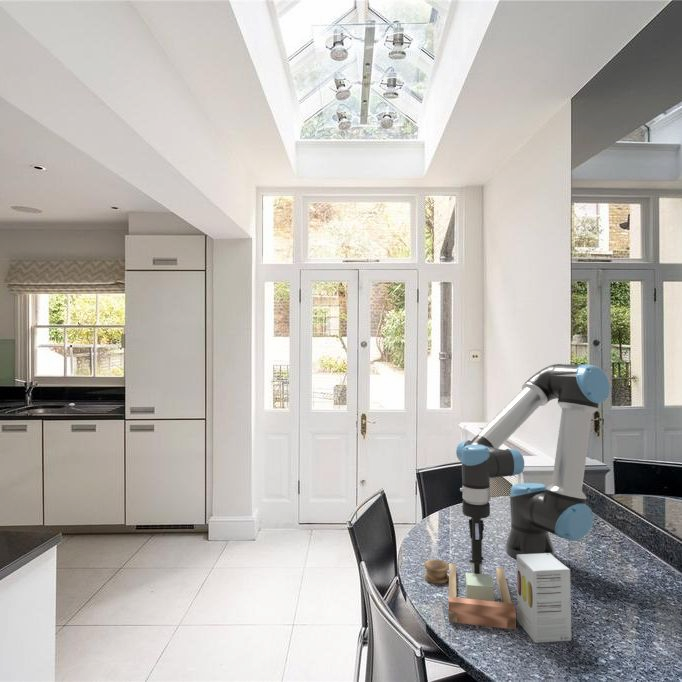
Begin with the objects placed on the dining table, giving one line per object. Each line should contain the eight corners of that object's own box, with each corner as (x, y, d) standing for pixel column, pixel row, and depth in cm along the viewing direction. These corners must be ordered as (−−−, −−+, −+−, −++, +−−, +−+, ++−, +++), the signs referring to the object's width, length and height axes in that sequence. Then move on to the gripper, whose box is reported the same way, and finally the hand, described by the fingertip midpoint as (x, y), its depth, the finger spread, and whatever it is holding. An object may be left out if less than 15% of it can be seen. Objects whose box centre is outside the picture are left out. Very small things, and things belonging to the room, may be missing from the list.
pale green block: (491, 596, 130) (491, 574, 130) (494, 610, 123) (494, 587, 124) (465, 594, 132) (465, 572, 132) (467, 607, 125) (466, 584, 125)
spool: (448, 573, 144) (448, 560, 144) (448, 584, 137) (448, 571, 137) (425, 571, 146) (424, 558, 146) (424, 582, 139) (423, 568, 139)
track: (503, 576, 142) (503, 559, 142) (515, 629, 115) (515, 608, 115) (449, 571, 146) (448, 555, 146) (448, 621, 118) (448, 601, 119)
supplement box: (516, 620, 119) (514, 553, 119) (551, 618, 119) (549, 551, 120) (535, 644, 109) (533, 570, 110) (572, 641, 110) (571, 568, 110)
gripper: (462, 493, 141) (462, 572, 140) (462, 507, 128) (463, 594, 128) (488, 494, 139) (489, 575, 138) (491, 509, 126) (492, 597, 126)
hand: (476, 584), depth 133 cm, fingers closed
